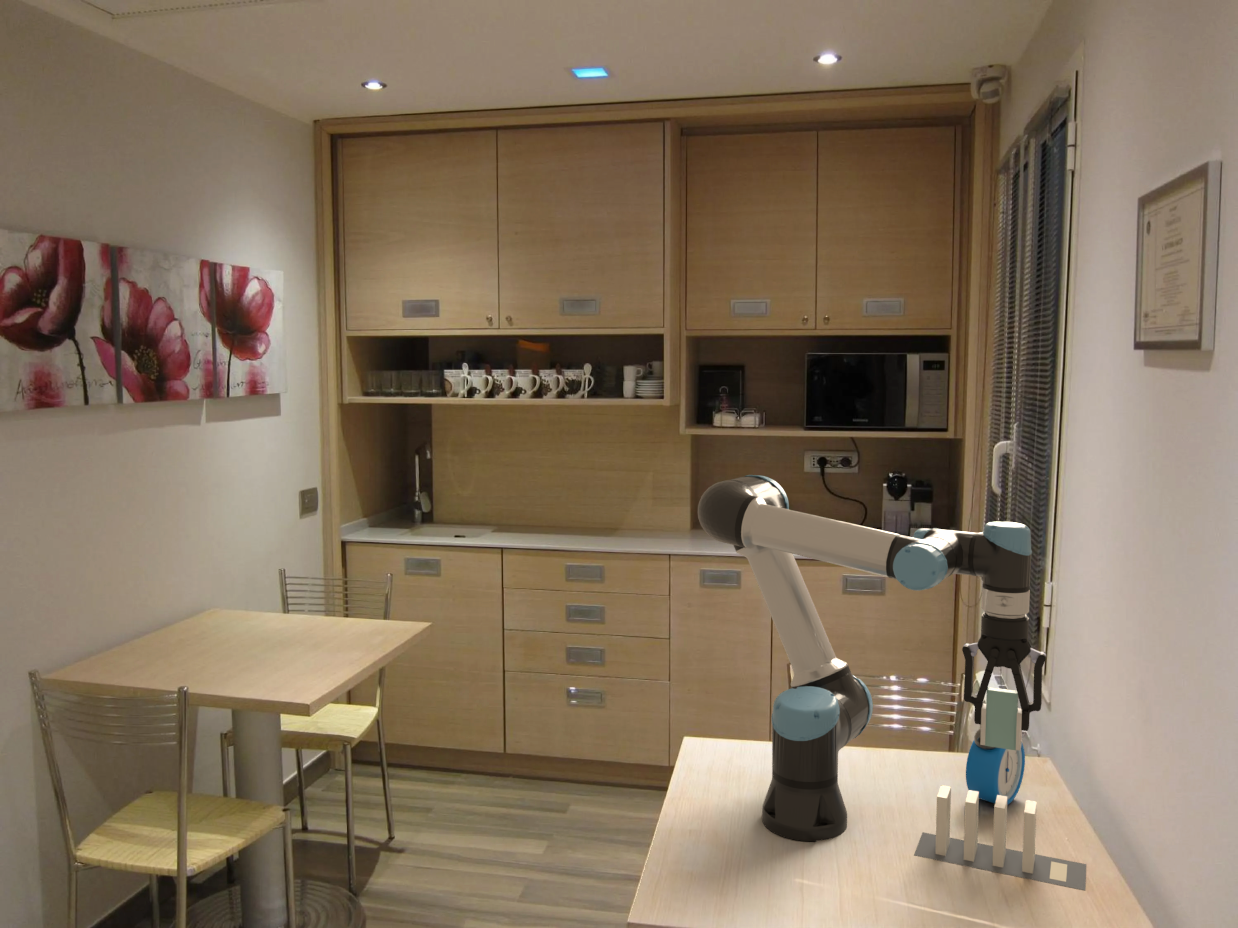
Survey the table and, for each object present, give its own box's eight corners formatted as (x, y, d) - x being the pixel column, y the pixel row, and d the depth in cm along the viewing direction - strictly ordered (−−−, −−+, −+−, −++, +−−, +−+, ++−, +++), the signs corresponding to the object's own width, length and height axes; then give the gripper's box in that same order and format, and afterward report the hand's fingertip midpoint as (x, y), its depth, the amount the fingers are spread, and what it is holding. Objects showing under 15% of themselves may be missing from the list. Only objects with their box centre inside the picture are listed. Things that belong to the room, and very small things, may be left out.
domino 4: (992, 865, 160) (994, 806, 159) (995, 851, 165) (997, 794, 164) (1002, 867, 159) (1004, 808, 158) (1005, 853, 164) (1007, 796, 163)
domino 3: (1016, 750, 167) (1017, 693, 166) (984, 745, 169) (986, 689, 168) (1016, 746, 168) (1018, 690, 168) (985, 742, 171) (987, 686, 170)
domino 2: (963, 859, 162) (965, 801, 161) (967, 846, 167) (968, 789, 166) (973, 861, 161) (975, 803, 160) (977, 848, 166) (978, 791, 165)
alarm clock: (995, 816, 178) (997, 737, 177) (962, 806, 182) (964, 728, 181) (1024, 794, 187) (1027, 718, 186) (993, 784, 192) (995, 710, 190)
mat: (913, 856, 164) (913, 854, 164) (922, 833, 172) (922, 831, 172) (1085, 892, 152) (1085, 890, 152) (1086, 865, 160) (1086, 863, 160)
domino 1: (935, 853, 164) (936, 796, 163) (939, 840, 169) (941, 784, 168) (945, 855, 163) (946, 798, 162) (949, 842, 168) (951, 786, 167)
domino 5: (1022, 871, 158) (1024, 811, 157) (1024, 857, 163) (1026, 799, 162) (1032, 873, 157) (1034, 813, 156) (1034, 859, 162) (1036, 801, 161)
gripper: (947, 612, 167) (943, 744, 169) (1062, 623, 159) (1057, 761, 162) (952, 603, 174) (949, 729, 176) (1063, 613, 166) (1058, 745, 168)
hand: (1000, 744), depth 169 cm, fingers closed on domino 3, 5 cm apart
